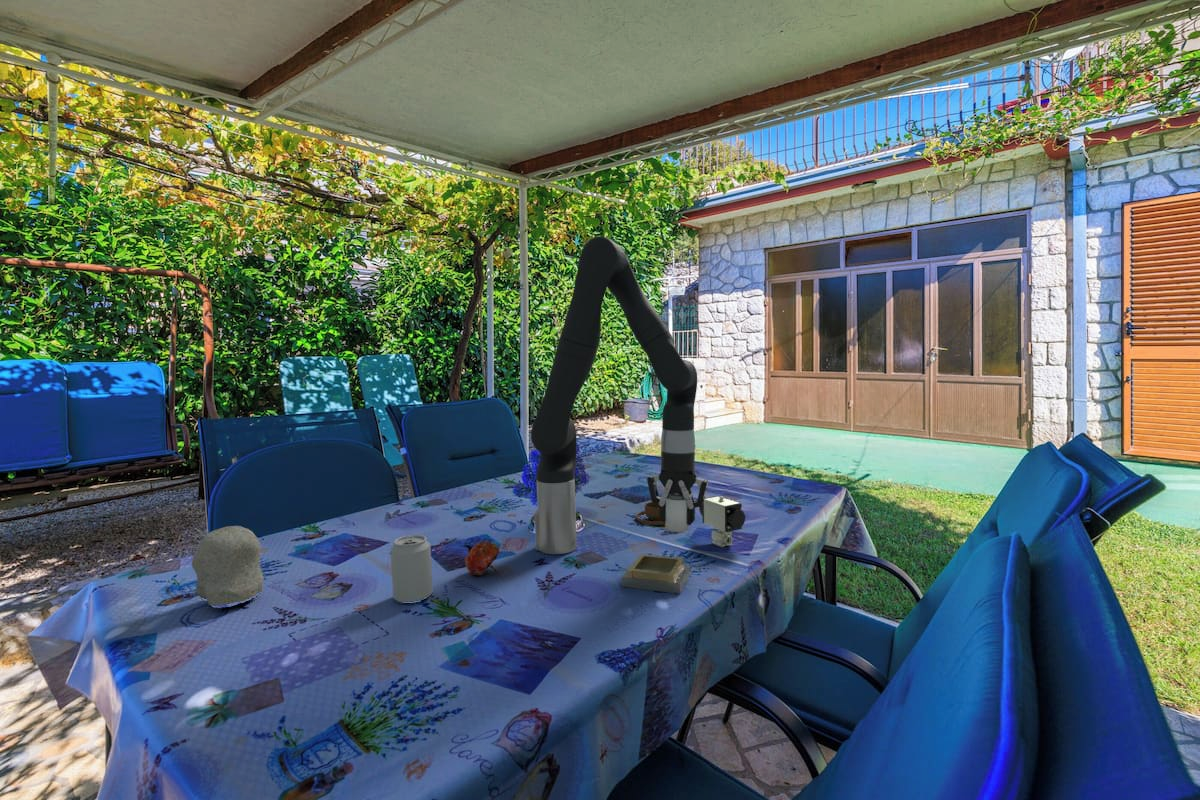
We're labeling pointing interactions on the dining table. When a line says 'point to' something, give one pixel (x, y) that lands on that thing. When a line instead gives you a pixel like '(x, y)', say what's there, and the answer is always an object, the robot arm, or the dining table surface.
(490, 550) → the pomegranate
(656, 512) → the place setting
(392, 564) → the can
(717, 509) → the pneumatic valve
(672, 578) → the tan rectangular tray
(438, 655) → the dining table surface
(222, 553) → the stone
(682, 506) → the white plastic jar
